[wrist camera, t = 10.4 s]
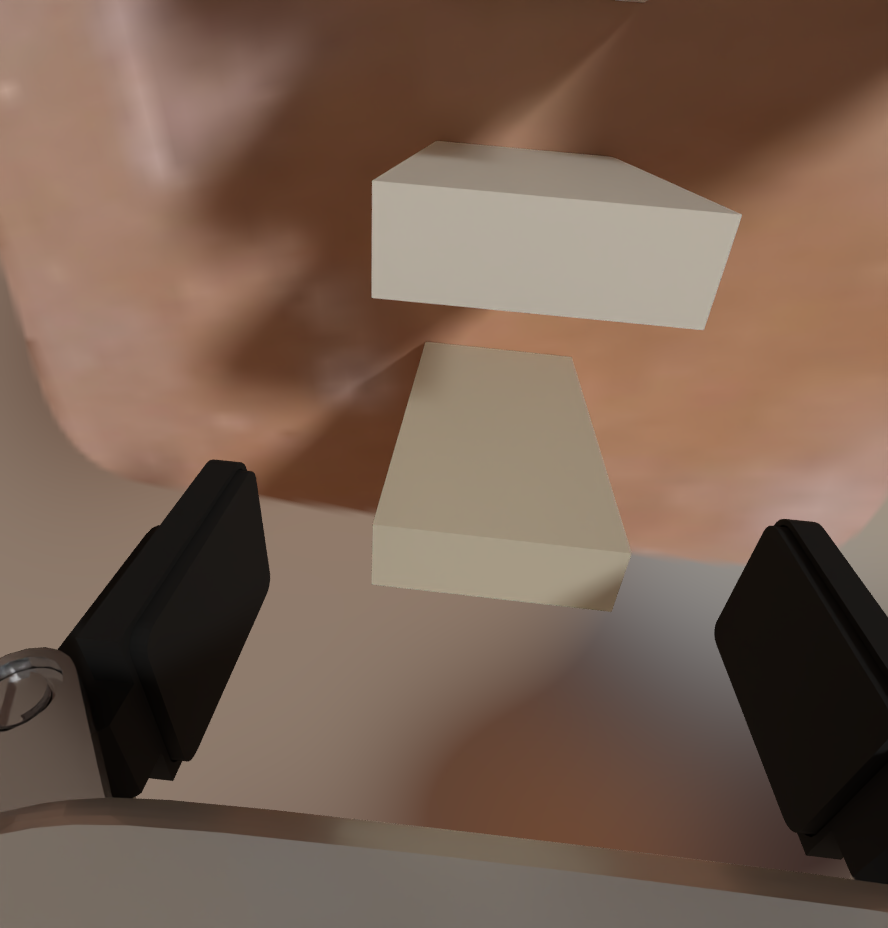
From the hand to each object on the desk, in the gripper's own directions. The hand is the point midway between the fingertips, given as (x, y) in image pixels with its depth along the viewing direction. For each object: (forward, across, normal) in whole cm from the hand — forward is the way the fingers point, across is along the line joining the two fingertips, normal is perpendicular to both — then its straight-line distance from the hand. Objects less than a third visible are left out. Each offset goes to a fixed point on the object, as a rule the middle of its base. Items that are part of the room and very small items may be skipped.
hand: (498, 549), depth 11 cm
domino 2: (+10, 0, +1) cm, 10 cm away
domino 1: (+10, 0, -5) cm, 12 cm away
